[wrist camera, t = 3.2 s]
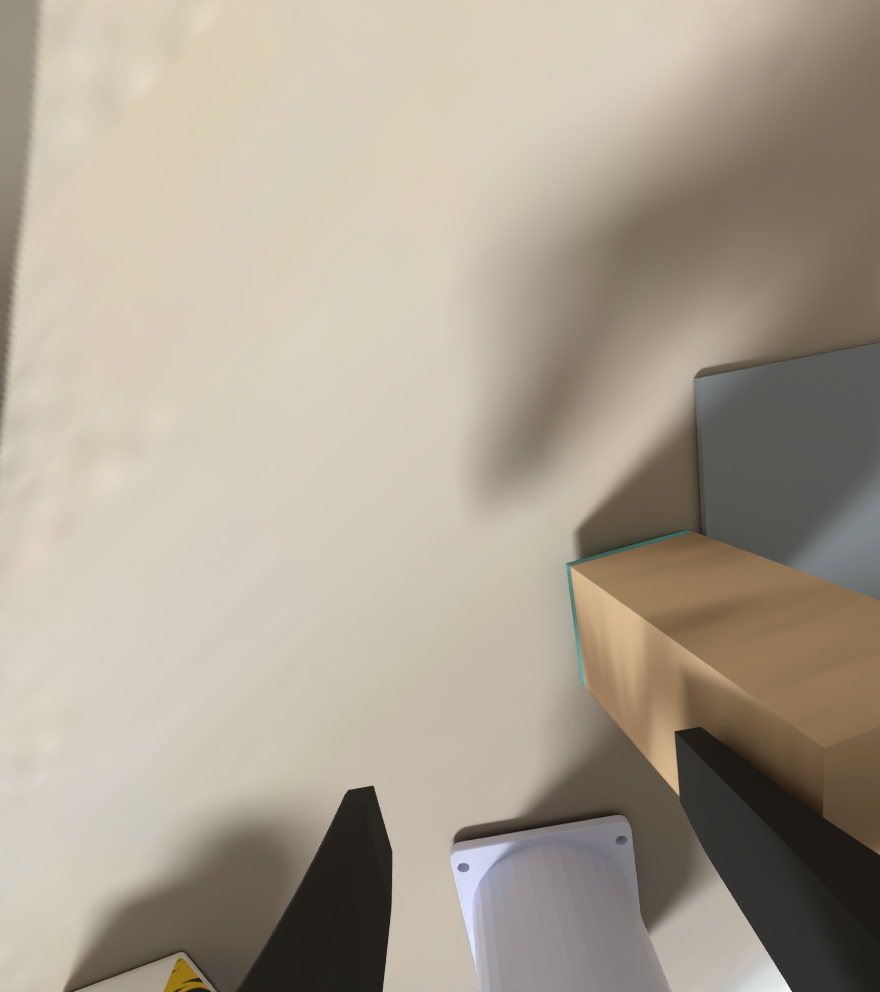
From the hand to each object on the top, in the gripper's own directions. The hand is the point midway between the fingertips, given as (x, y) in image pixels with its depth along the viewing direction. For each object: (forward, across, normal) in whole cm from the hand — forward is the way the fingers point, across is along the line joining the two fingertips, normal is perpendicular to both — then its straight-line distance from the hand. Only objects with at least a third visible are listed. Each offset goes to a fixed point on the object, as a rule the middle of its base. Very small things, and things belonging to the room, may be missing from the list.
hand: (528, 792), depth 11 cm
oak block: (+7, -6, 0) cm, 9 cm away
